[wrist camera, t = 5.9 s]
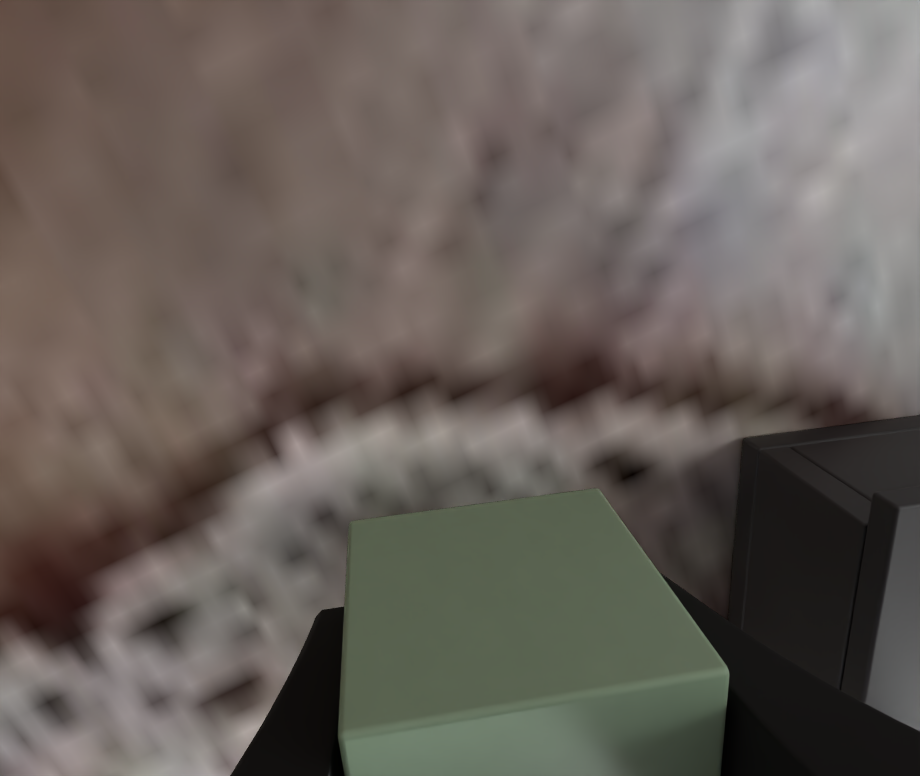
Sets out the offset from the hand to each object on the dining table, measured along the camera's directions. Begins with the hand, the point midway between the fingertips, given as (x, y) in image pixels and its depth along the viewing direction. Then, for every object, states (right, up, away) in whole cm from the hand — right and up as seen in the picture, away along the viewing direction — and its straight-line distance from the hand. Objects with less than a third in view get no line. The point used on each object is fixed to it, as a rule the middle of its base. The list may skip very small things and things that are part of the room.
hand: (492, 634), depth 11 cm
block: (0, 0, +1) cm, 1 cm away
